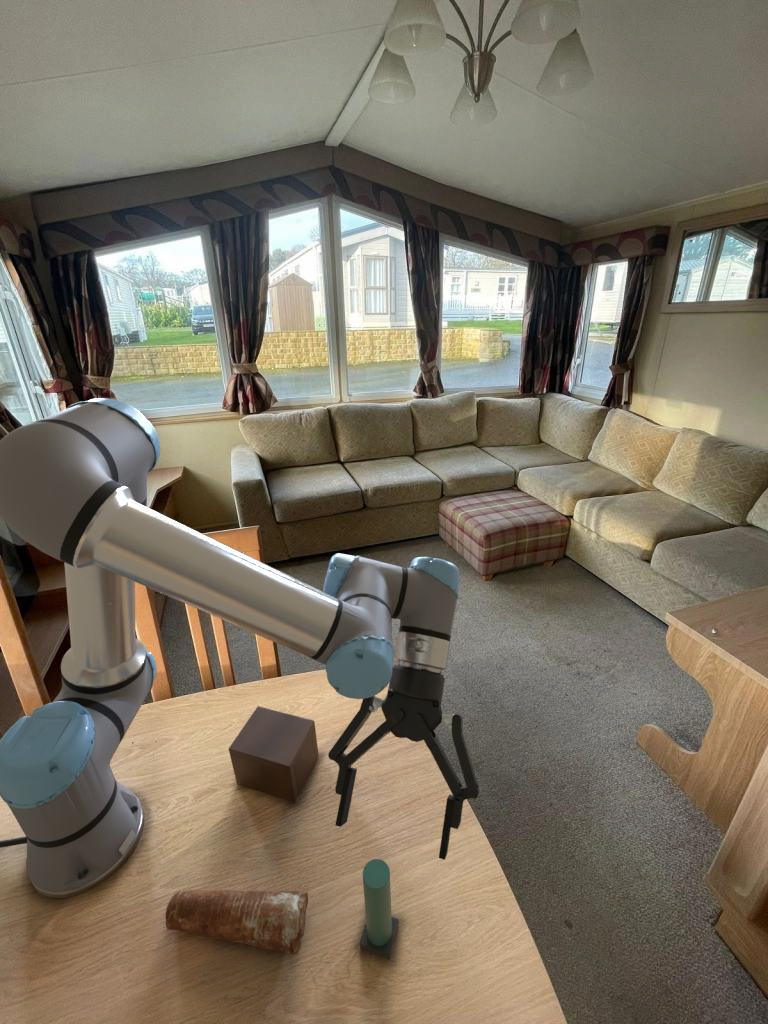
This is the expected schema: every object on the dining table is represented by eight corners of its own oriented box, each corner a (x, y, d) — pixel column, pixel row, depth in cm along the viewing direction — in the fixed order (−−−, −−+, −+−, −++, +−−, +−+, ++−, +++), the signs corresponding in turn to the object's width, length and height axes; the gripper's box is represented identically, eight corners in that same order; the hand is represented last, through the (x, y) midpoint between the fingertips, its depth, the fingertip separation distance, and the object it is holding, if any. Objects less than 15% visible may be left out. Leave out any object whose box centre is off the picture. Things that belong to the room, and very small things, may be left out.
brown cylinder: (302, 965, 60) (297, 942, 57) (160, 939, 63) (150, 916, 60) (316, 906, 65) (312, 883, 63) (185, 884, 68) (177, 861, 66)
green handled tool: (359, 947, 61) (354, 886, 55) (370, 912, 65) (365, 850, 59) (389, 959, 60) (387, 898, 54) (398, 922, 64) (397, 860, 57)
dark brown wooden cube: (237, 785, 81) (228, 748, 78) (264, 740, 89) (257, 705, 85) (295, 803, 78) (289, 766, 74) (318, 756, 86) (314, 720, 82)
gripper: (328, 649, 68) (290, 818, 62) (510, 686, 61) (488, 881, 55) (344, 652, 75) (312, 805, 69) (509, 686, 68) (490, 859, 62)
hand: (390, 839), depth 62 cm, fingers open, 13 cm apart
